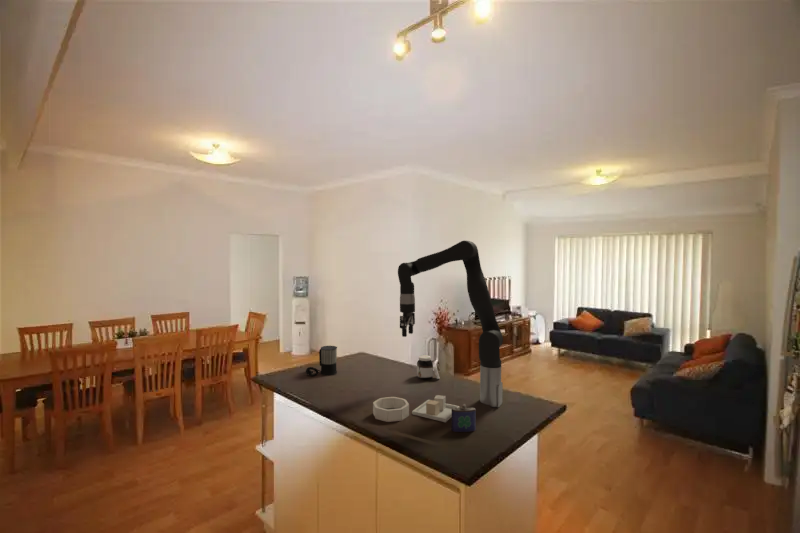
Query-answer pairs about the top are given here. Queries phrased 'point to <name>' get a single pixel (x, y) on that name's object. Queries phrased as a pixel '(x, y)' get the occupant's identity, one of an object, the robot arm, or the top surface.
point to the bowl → (391, 414)
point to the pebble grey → (441, 402)
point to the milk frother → (325, 361)
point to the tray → (442, 415)
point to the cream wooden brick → (432, 407)
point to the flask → (463, 419)
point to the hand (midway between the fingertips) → (407, 335)
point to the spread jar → (426, 368)
